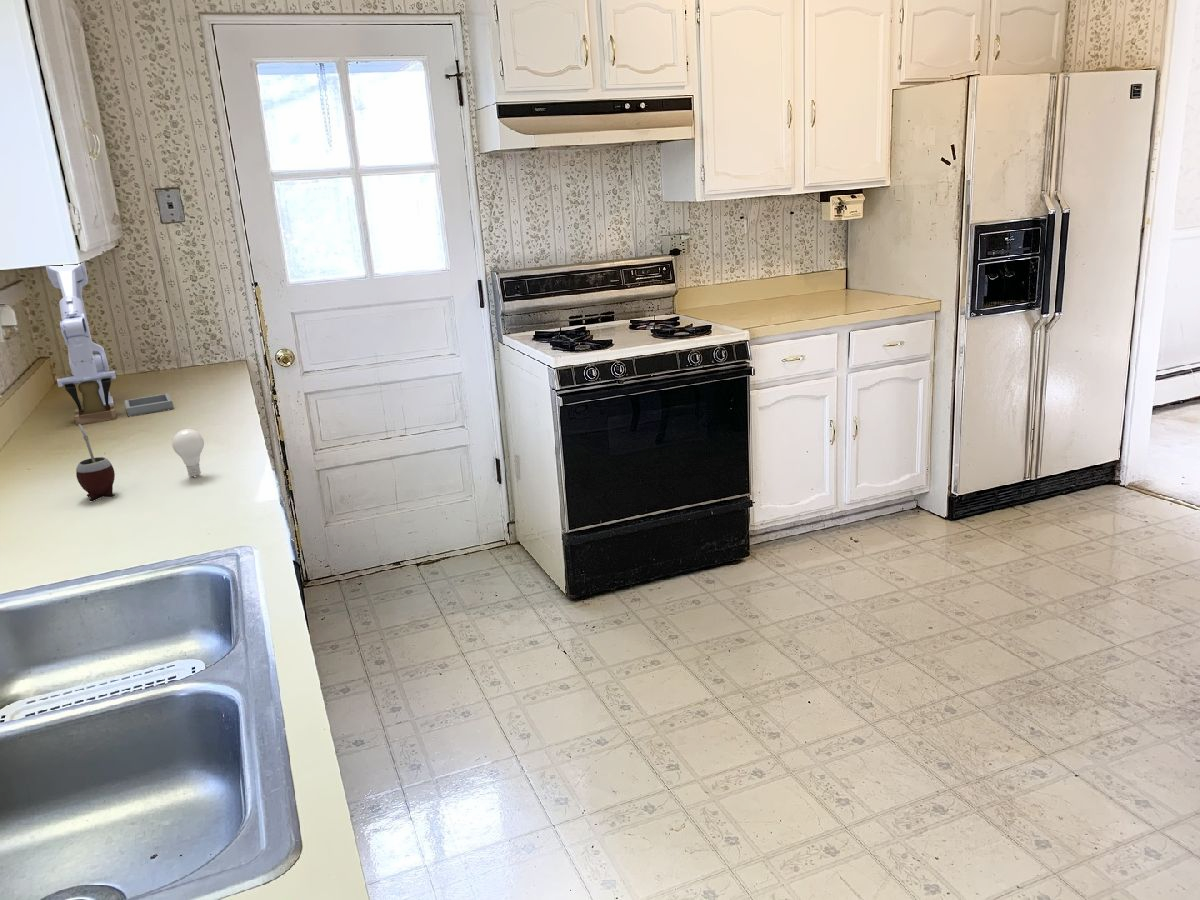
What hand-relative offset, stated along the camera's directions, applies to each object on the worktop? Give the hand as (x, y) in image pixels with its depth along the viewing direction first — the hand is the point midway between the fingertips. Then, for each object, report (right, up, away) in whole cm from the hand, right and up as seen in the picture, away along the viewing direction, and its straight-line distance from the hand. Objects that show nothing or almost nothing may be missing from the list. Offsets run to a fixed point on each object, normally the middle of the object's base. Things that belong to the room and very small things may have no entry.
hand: (93, 406), depth 259 cm
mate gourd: (+38, -22, -65) cm, 78 cm away
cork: (0, -3, +1) cm, 4 cm away
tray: (+12, 0, +8) cm, 14 cm away
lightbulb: (+54, -18, -56) cm, 80 cm away
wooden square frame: (0, -3, +1) cm, 3 cm away
